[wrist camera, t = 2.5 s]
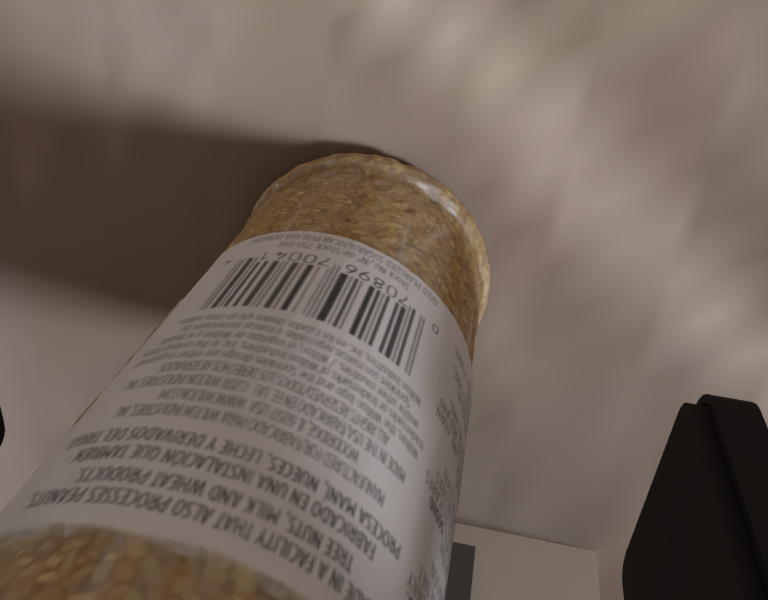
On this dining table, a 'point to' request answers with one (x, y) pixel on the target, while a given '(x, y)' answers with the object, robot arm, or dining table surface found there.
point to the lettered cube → (518, 568)
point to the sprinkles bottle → (279, 413)
